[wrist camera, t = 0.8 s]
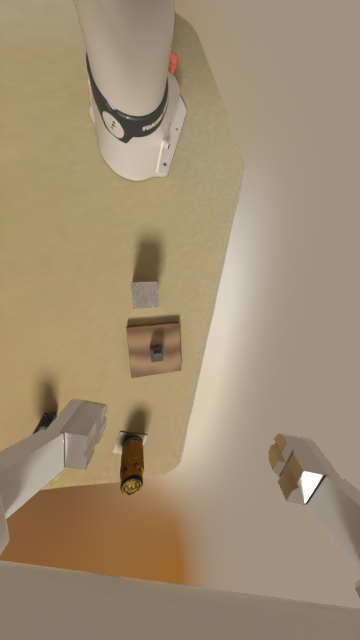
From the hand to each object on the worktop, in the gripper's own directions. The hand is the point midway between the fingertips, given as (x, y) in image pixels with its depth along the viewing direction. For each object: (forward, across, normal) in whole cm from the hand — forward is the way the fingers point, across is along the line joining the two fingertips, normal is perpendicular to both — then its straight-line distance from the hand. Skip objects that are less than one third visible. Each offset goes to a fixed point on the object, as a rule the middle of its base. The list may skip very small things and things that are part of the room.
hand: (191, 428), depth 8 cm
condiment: (+33, +8, +47) cm, 58 cm away
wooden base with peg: (+38, +6, +16) cm, 42 cm away
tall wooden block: (+39, +11, +2) cm, 41 cm away
